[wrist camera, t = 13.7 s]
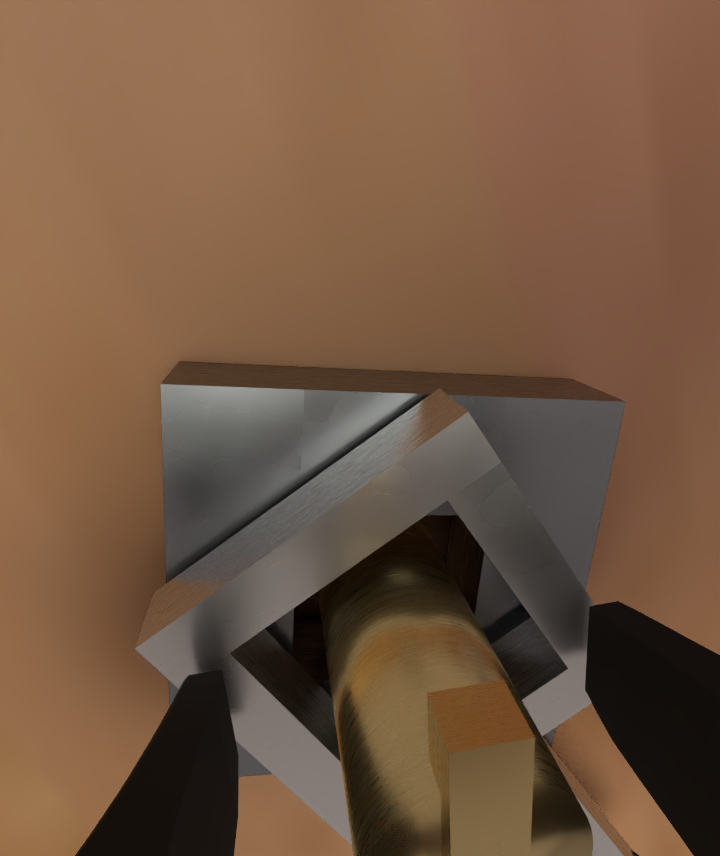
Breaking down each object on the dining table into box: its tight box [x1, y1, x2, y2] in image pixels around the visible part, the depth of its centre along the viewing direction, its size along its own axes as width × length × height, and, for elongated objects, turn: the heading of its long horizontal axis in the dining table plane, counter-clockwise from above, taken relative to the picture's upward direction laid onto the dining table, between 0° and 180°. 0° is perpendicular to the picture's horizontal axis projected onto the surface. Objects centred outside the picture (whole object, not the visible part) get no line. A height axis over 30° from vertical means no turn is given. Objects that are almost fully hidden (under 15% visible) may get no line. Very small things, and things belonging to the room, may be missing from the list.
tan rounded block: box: [317, 519, 593, 856], centre depth 11 cm, size 3×5×9 cm, turn 4°
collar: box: [135, 388, 639, 856], centre depth 14 cm, size 17×7×2 cm, turn 35°
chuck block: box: [161, 362, 625, 777], centre depth 14 cm, size 10×10×2 cm
